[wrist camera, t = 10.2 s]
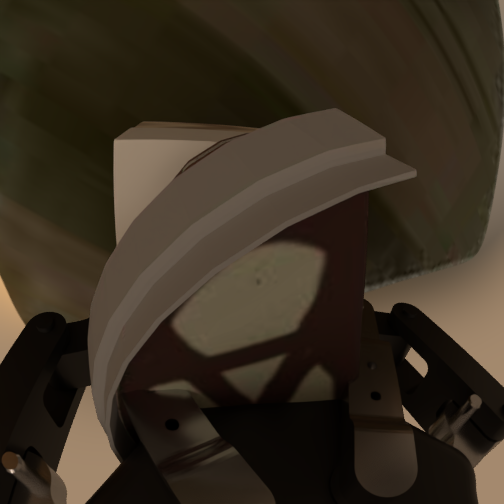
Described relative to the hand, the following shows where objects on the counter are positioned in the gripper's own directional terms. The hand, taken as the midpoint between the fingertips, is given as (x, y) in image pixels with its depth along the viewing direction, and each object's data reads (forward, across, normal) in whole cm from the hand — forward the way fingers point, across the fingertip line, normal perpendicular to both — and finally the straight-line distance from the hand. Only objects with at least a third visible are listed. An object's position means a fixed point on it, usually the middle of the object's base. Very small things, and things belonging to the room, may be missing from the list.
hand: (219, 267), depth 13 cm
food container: (+2, +1, 0) cm, 2 cm away
